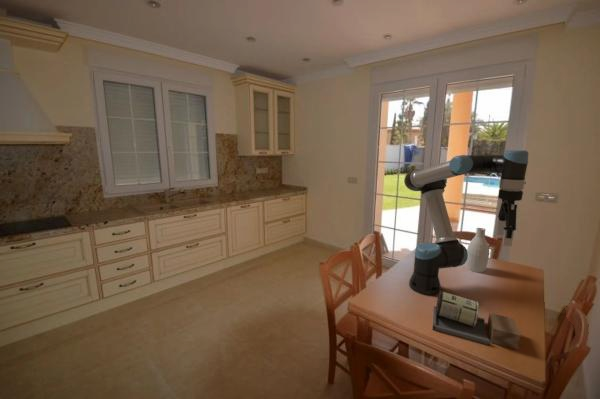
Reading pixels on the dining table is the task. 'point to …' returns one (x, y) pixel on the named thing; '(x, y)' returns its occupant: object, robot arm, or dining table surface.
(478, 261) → the bottle
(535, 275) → the dining table surface
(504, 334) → the ledge block
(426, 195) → the robot arm
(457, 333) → the tray mat
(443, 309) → the coffee can
